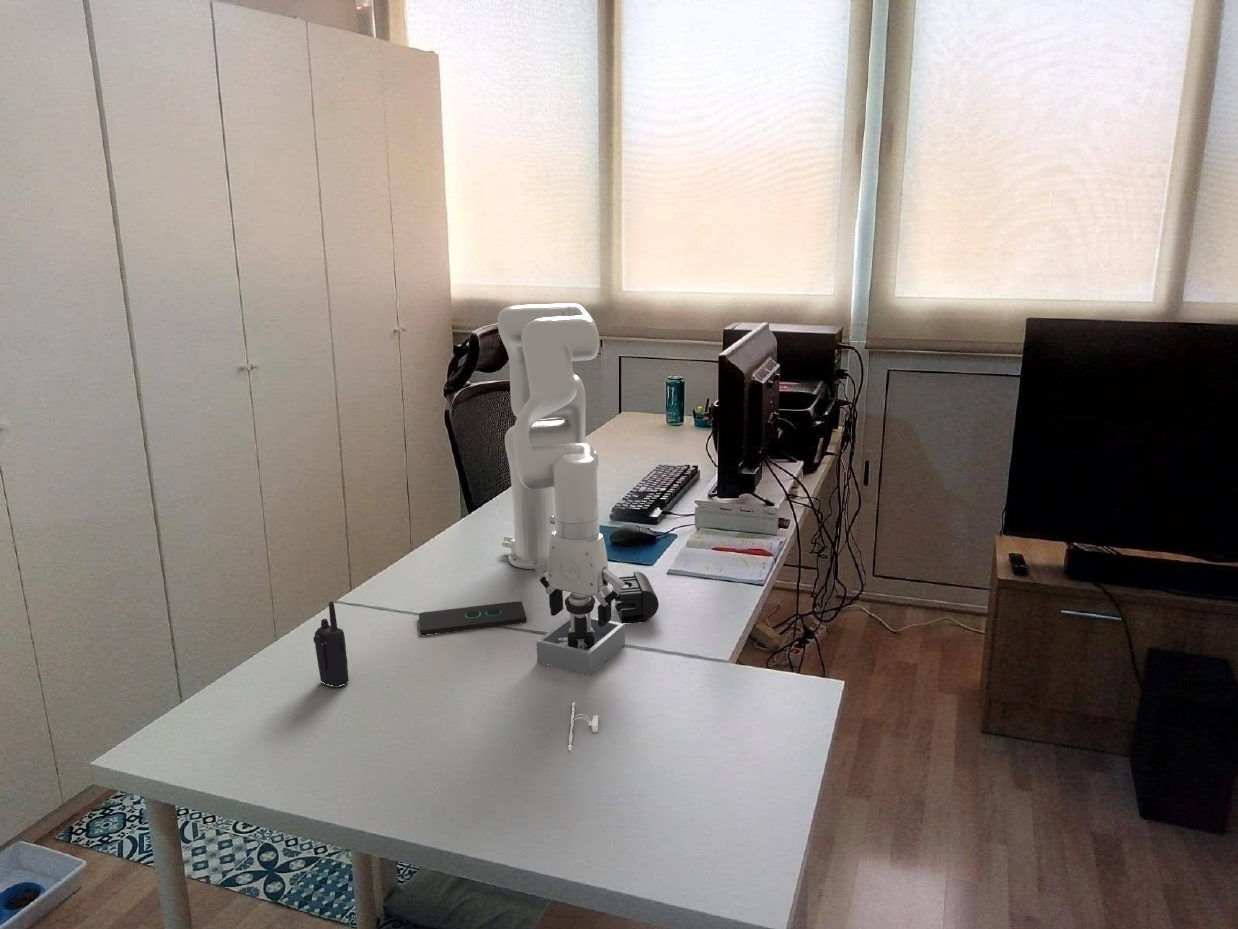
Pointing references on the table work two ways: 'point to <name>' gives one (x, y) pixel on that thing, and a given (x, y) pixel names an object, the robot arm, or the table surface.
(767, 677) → the table surface
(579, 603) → the push button
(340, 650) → the two-way radio
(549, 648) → the rectangular tray
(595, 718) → the picture light
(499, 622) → the smart home device
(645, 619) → the end cap
